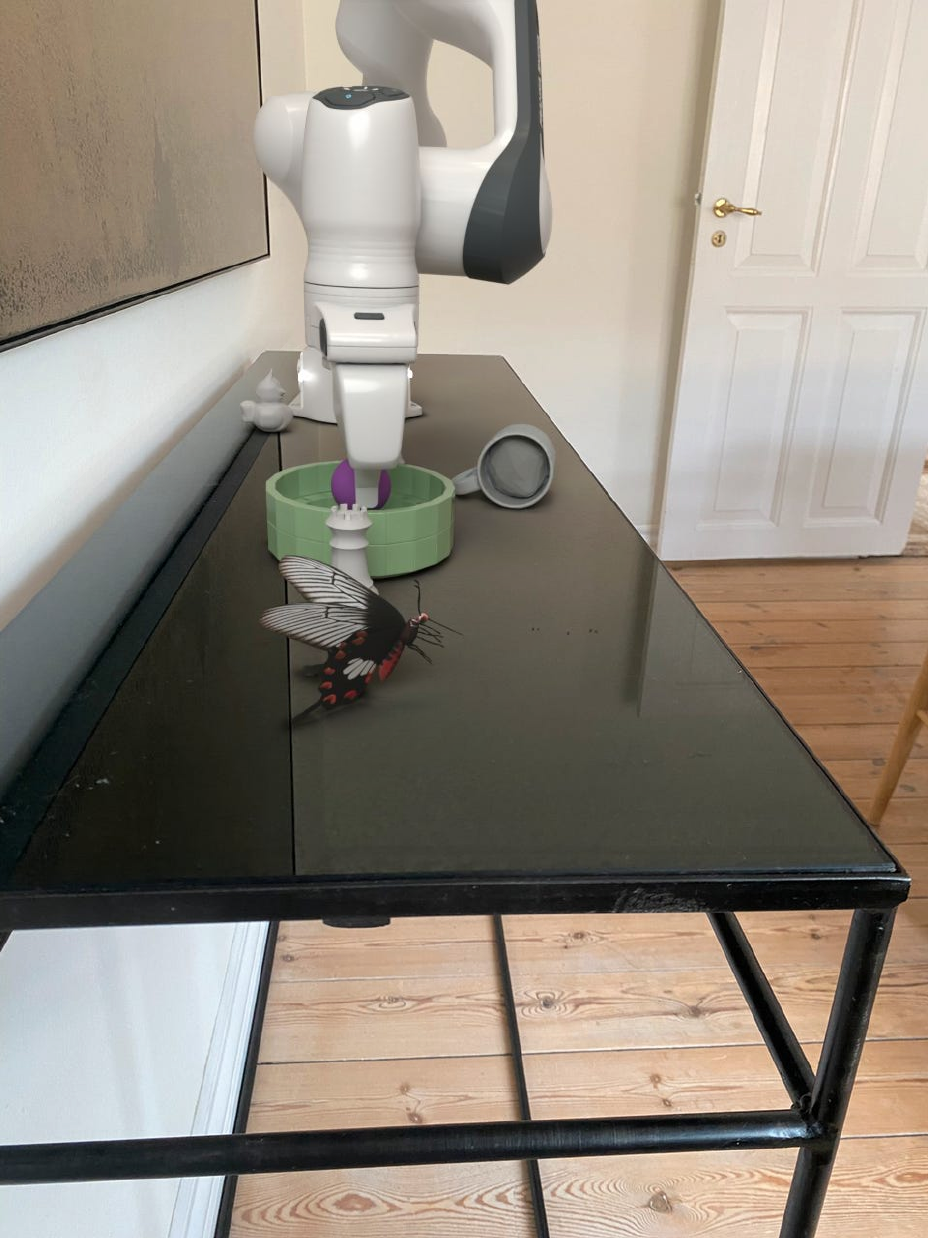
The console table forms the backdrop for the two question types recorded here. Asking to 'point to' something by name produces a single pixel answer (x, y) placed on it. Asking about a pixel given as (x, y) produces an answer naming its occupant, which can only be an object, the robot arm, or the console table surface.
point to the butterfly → (342, 629)
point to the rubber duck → (268, 407)
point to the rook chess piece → (350, 542)
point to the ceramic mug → (512, 467)
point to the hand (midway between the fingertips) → (362, 494)
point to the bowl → (400, 530)
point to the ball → (345, 486)
